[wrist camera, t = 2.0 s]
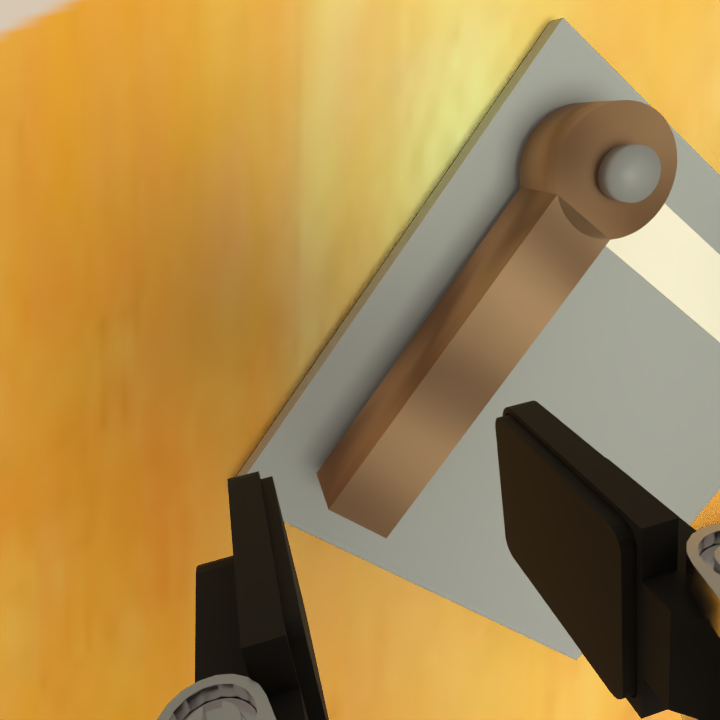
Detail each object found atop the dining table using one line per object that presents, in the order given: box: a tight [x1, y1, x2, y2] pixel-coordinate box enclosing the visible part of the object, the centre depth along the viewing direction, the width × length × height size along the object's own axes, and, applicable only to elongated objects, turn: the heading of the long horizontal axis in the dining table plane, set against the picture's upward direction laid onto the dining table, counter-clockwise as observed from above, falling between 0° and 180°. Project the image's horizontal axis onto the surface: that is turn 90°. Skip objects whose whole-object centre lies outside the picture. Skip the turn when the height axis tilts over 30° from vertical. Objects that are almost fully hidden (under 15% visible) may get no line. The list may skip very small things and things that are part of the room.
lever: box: [316, 100, 677, 538], centre depth 27 cm, size 20×5×3 cm, turn 144°
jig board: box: [236, 18, 720, 660], centre depth 30 cm, size 24×23×6 cm
